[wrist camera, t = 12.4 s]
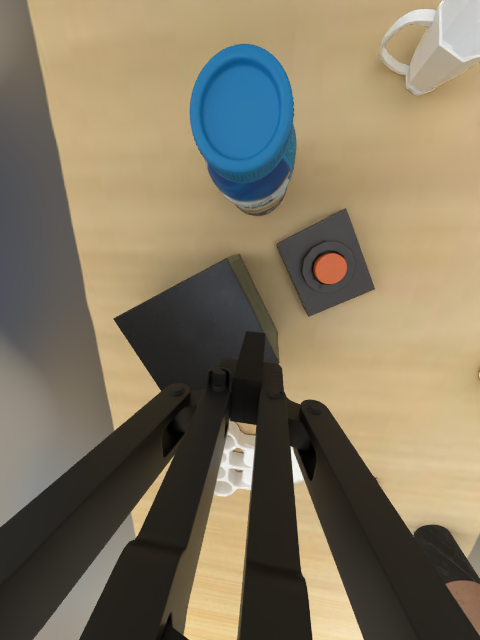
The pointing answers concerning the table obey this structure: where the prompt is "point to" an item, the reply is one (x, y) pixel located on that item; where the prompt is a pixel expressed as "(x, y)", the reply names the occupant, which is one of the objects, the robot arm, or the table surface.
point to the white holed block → (235, 462)
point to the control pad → (310, 246)
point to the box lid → (193, 327)
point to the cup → (438, 44)
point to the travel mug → (452, 569)
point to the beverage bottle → (245, 126)
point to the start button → (330, 268)
